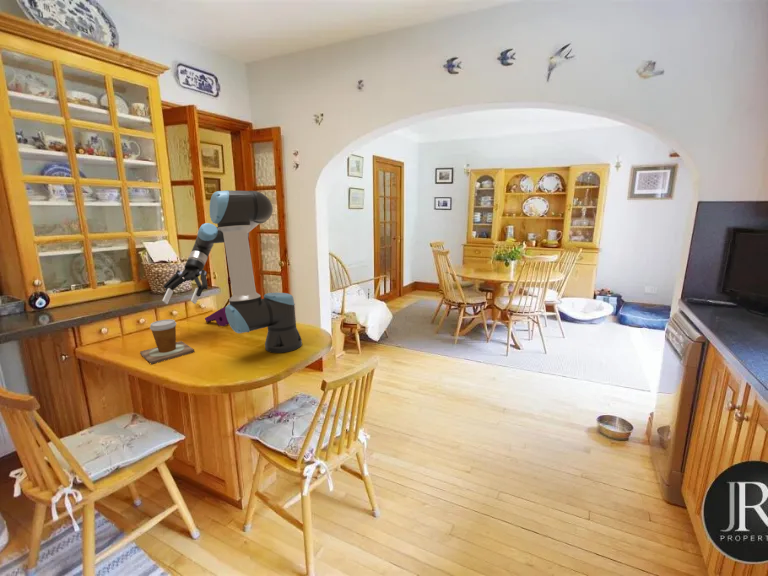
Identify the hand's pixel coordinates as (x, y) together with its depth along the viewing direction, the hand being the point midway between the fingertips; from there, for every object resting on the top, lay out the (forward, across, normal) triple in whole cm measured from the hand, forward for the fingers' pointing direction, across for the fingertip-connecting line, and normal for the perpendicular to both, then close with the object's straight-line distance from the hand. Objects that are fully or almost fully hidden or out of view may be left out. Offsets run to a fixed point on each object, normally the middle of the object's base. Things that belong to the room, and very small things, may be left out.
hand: (179, 302), depth 159 cm
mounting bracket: (-9, +3, -37) cm, 38 cm away
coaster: (+21, +1, -7) cm, 22 cm away
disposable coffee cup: (+20, +1, -6) cm, 21 cm away
